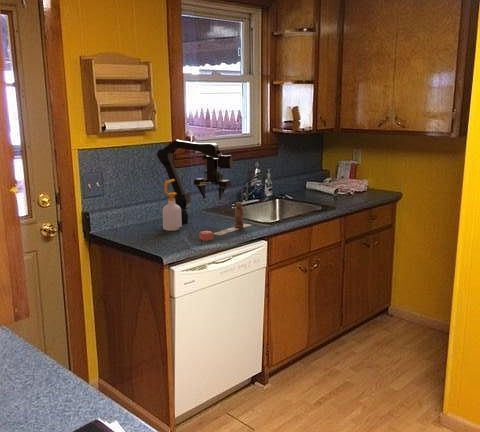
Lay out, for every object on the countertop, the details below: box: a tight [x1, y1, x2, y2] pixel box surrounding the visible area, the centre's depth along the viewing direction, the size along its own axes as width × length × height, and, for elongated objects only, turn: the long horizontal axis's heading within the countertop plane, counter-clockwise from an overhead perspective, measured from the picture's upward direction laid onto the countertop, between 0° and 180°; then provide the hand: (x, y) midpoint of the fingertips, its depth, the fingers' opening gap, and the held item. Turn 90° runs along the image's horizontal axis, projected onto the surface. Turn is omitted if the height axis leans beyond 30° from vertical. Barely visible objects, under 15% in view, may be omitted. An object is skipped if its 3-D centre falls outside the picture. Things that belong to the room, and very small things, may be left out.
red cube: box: [198, 230, 214, 241], centre depth 233 cm, size 4×4×4 cm
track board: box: [213, 223, 251, 236], centre depth 251 cm, size 26×11×1 cm, turn 143°
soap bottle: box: [162, 179, 183, 232], centre depth 254 cm, size 9×9×25 cm
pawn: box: [233, 201, 244, 229], centre depth 253 cm, size 4×4×12 cm
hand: (212, 199), depth 263 cm, fingers open, 9 cm apart
